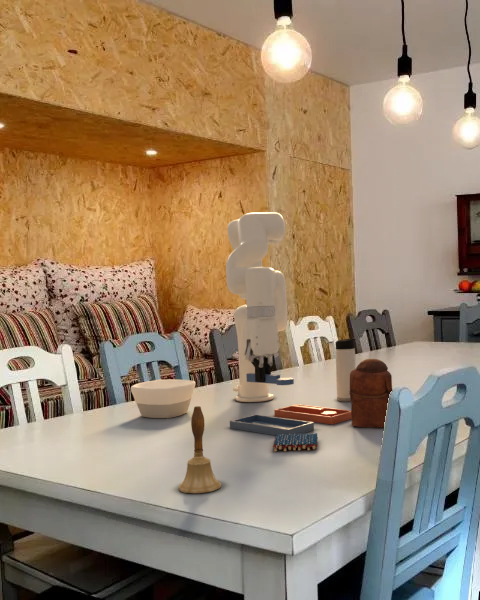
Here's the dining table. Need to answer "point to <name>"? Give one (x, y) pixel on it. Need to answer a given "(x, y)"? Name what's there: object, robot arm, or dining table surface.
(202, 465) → the hand bell
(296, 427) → the slate tray
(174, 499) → the dining table surface
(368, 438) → the dining table surface
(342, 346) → the travel mug
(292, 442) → the woven mat
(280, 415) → the terracotta tray
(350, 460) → the dining table surface
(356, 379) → the wooden figurine
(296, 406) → the terracotta spoon
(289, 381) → the slate spoon
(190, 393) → the bowl
